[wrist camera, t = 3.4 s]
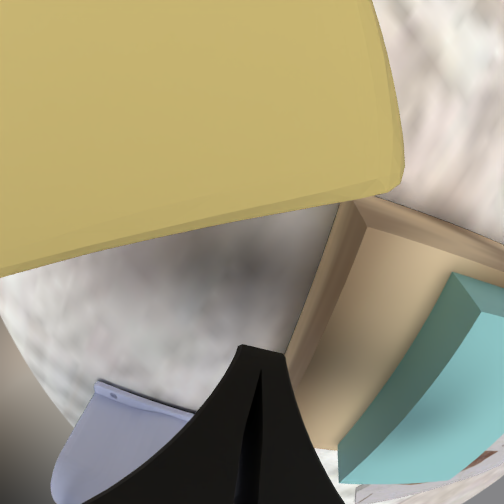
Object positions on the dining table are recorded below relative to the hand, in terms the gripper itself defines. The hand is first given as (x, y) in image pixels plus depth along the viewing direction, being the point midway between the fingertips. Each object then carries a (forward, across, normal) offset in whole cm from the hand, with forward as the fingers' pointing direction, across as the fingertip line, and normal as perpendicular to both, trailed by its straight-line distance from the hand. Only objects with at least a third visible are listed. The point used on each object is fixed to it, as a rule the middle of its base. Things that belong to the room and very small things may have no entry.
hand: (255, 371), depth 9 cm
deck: (+5, -8, 0) cm, 9 cm away
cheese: (+5, +6, -9) cm, 12 cm away
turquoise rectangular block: (+1, -8, 0) cm, 8 cm away
